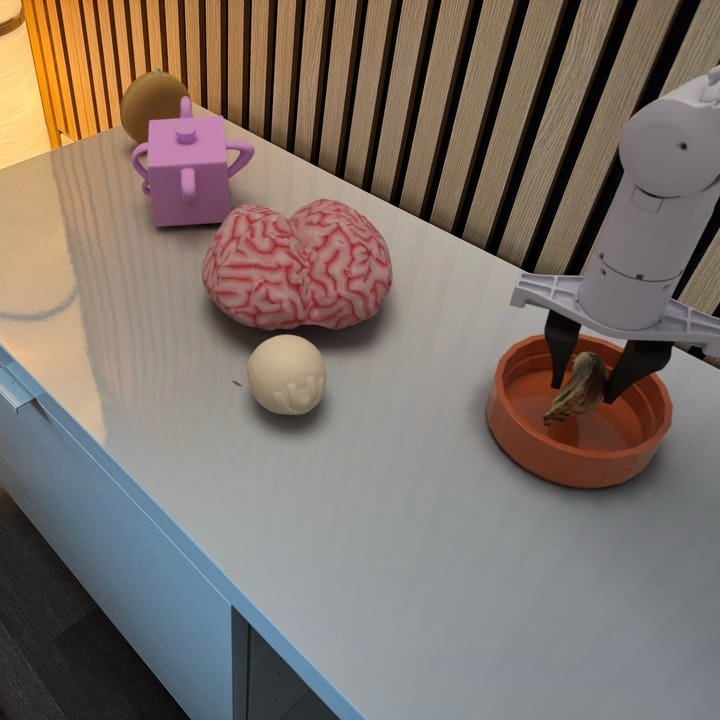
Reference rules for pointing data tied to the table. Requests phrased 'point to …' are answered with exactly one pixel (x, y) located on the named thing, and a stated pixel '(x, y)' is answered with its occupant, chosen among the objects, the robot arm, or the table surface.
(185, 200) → the teapot
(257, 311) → the brain
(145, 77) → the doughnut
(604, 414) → the bowl
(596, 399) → the oyster shell
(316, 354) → the cream ball
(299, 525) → the table surface
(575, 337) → the robot arm
